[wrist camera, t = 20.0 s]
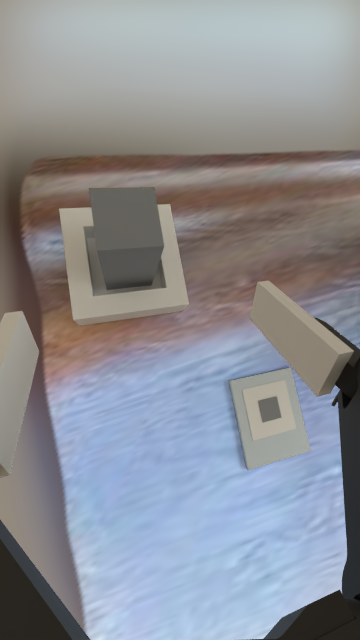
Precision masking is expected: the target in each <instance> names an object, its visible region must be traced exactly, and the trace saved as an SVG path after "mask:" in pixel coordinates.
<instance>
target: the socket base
mask: <svg viewBox="0 0 360 640" xmlns="http://www.w3.org/2000/svg"><path fill="white" fill-rule="evenodd" d="M157 206H158V212H159V218H160V223H161V229H162V235H163V241H164V249H163V252H162V255H161V258H160V261H159V264H158V267H157V270H156V273H155V276H154V280H153V283H152V285H151V286H141V287H131V288H122V289H112V290H107V289H106V285H105V281H104V277H103V273H102V269H101V265H100V261H99V257H98V253H97V247H96V240H95V232H94V225H93V217H92V209H91V207H90V208H66V209H59V211H60V219H61V227H62V235H63V243H64V251H65V259H66V267H67V275H68V283H69V291H70V299H71V307H72V315H73V320H74V321H75V322H76V323H77V324H78V325H80V326H82V325H89V324H96V323H103V322H110V321H117V320H124V319H131V318H138V317H145V316H152V315H159V314H166V313H173V312H180V311H182V310H183V309H184V308H186V307H187V306H188V305H189V301H188V296H187V291H186V286H185V280H184V275H183V270H182V265H181V259H180V254H179V249H178V244H177V238H176V233H175V228H174V223H173V217H172V212H171V207H170V204H164V205H157Z"/></svg>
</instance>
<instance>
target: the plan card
mask: <svg viewBox="0 0 360 640" xmlns="http://www.w3.org/2000/svg"><path fill="white" fill-rule="evenodd" d="M229 384H230V389H231V394H232V399H233V404H234V409H235V413H236V418H237V423H238V428H239V433H240V438H241V443H242V448H243V453H244V457H245V462H246V467H247V469H248V470H251V469H254V468H257V467H260V466H264V465H267V464H270V463H273V462H276V461H280V460H283V459H286V458H289V457H292V456H296V455H299V454H302V453H305V452H308V451H311V450H310V445H309V441H308V437H307V433H306V429H305V424H304V420H303V416H302V412H301V408H300V404H299V399H298V395H297V391H296V387H295V383H294V378H293V374H292V370H291V368H285V369H280V370H276V371H271V372H267V373H262V374H258V375H253V376H248V377H244V378H239V379H235V380H230V381H229Z"/></svg>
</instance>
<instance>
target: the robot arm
mask: <svg viewBox="0 0 360 640" xmlns="http://www.w3.org/2000/svg"><path fill="white" fill-rule="evenodd" d="M250 319H251V321H252V322H253V323H254V324H255V325H256V326H257V328H258V329H259V330H260V331H261V332H262V333H263V335H264V336H265V337H266V338H267V339H268V340H269V341H270V343H271V344H272V345H273V346H274V347H275V348H276V350H277V351H278V352H279V353H280V354H281V355H282V357H283V358H284V359H285V360H286V361H287V362H288V364H289V365H290V366H291V367H292V368H293V369H294V370H295V372H296V373H297V374H298V375H299V376H300V377H301V379H302V380H303V381H304V382H305V383H306V384H307V386H308V387H309V388H310V389H311V390H312V391H313V393H314V394H315V395H316V396H321V395H325V394H329V393H331V391H332V389H333V387H334V386H335V385H336V386H337V387H338V388H339V389H340V391H339V392H338V394H337V396H336V397H335V399H334V401H333V403H332V406H335V404H336V403H337V402H338V408H339V424H340V440H341V456H342V473H343V489H344V505H345V521H346V537H347V561H346V564H345V567H344V570H343V577H342V593H341V592H340V590H338V591H336V592H334V593H332V594H330V595H327V596H325V597H323V598H321V599H319V600H317V601H315V602H313V603H311V604H309V605H307V606H305V607H303V608H301V609H299V610H297V611H295V612H293V613H291V614H289V615H287V616H285V617H283V618H281V620H280V621H279V622H278V623H277V624H276V625H275V626H274V627H273V629H272V630H271V631H270V632H269V633H268V634H267V635H266V637H265V638H264V639H252V640H360V349H358V348H357V347H356V346H355V345H353V344H352V343H351V342H350V341H348V340H347V339H346V338H345V337H343V336H342V335H340V333H338V332H337V331H336V330H334V328H332V327H331V326H330V325H329V324H327V323H326V322H324V321H322V320H320V319H318V318H313V317H312V316H311V315H310V314H308V313H307V312H306V311H305V310H304V309H302V308H301V307H300V306H299V305H298V304H296V303H295V302H294V301H293V300H291V299H290V298H289V297H288V296H287V295H285V294H284V293H283V292H282V291H281V290H279V289H278V288H277V287H276V286H274V285H273V284H272V283H271V282H270V281H261V282H257V287H256V291H255V296H254V301H253V305H252V310H251V314H250ZM38 354H39V350H38V348H37V345H36V343H35V341H34V338H33V336H32V333H31V331H30V328H29V326H28V324H27V321H26V319H25V317H24V314H23V312H22V311H19V312H10V313H5V314H4V316H3V318H2V320H1V323H0V477H4V476H8V475H10V472H11V468H12V464H13V460H14V456H15V451H16V447H17V443H18V439H19V435H20V430H21V426H22V422H23V418H24V414H25V409H26V405H27V401H28V396H29V392H30V388H31V384H32V380H33V376H34V371H35V367H36V362H37V359H38ZM0 640H90V639H89V637H88V636H87V635H86V633H85V632H84V631H83V629H82V628H81V627H80V625H79V624H78V623H77V621H76V620H75V619H74V617H73V616H72V615H71V613H70V612H69V611H68V609H67V608H66V607H65V605H64V604H63V603H62V601H61V600H60V599H59V597H58V596H57V595H56V594H55V592H54V591H53V589H52V588H51V587H50V585H49V584H48V583H47V581H46V580H45V579H44V577H43V576H42V575H41V573H40V572H39V571H38V569H37V568H36V567H35V565H34V564H33V563H32V561H31V560H30V559H29V557H28V556H27V555H26V554H25V552H24V551H23V549H22V548H21V547H20V545H19V544H18V543H17V541H16V540H15V539H14V538H13V536H12V535H11V533H10V532H9V531H8V530H7V528H6V527H5V525H4V524H3V523H2V521H1V520H0Z"/></svg>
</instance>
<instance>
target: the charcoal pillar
mask: <svg viewBox="0 0 360 640" xmlns="http://www.w3.org/2000/svg"><path fill="white" fill-rule="evenodd" d="M89 194H90V202H91V209H92V217H93V225H94V232H95V240H96V247H97V253H98V257H99V261H100V265H101V269H102V273H103V277H104V281H105V285H106V289H107V290H112V289H122V288H131V287H141V286H151V285H152V283H153V280H154V276H155V273H156V270H157V267H158V264H159V261H160V258H161V255H162V252H163V249H164V241H163V235H162V229H161V223H160V218H159V212H158V206H157V200H156V194H155V188H154V187H147V188H89Z"/></svg>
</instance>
